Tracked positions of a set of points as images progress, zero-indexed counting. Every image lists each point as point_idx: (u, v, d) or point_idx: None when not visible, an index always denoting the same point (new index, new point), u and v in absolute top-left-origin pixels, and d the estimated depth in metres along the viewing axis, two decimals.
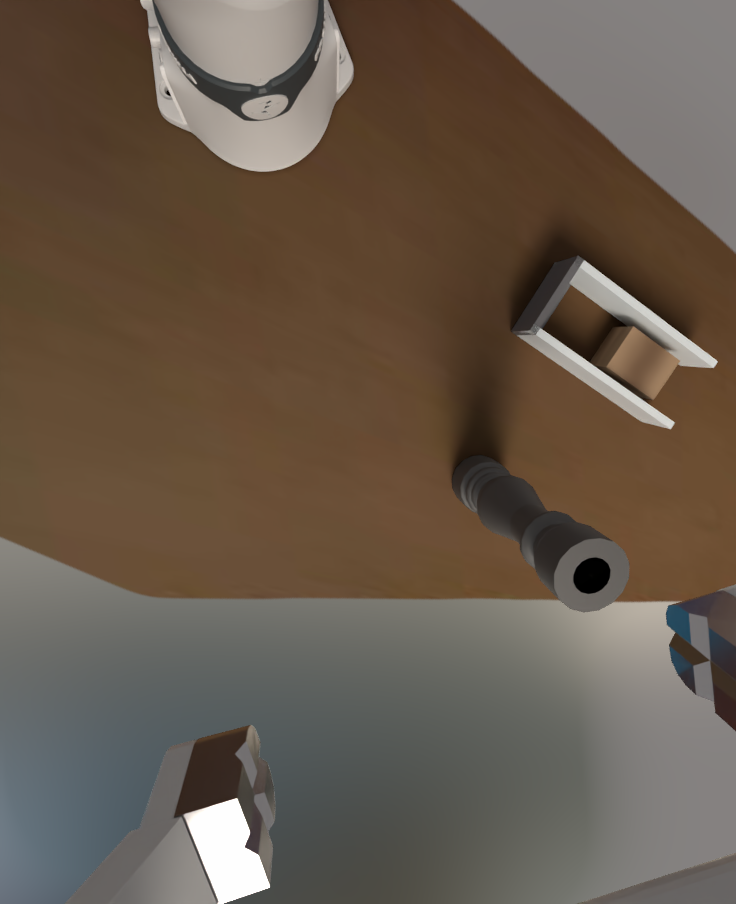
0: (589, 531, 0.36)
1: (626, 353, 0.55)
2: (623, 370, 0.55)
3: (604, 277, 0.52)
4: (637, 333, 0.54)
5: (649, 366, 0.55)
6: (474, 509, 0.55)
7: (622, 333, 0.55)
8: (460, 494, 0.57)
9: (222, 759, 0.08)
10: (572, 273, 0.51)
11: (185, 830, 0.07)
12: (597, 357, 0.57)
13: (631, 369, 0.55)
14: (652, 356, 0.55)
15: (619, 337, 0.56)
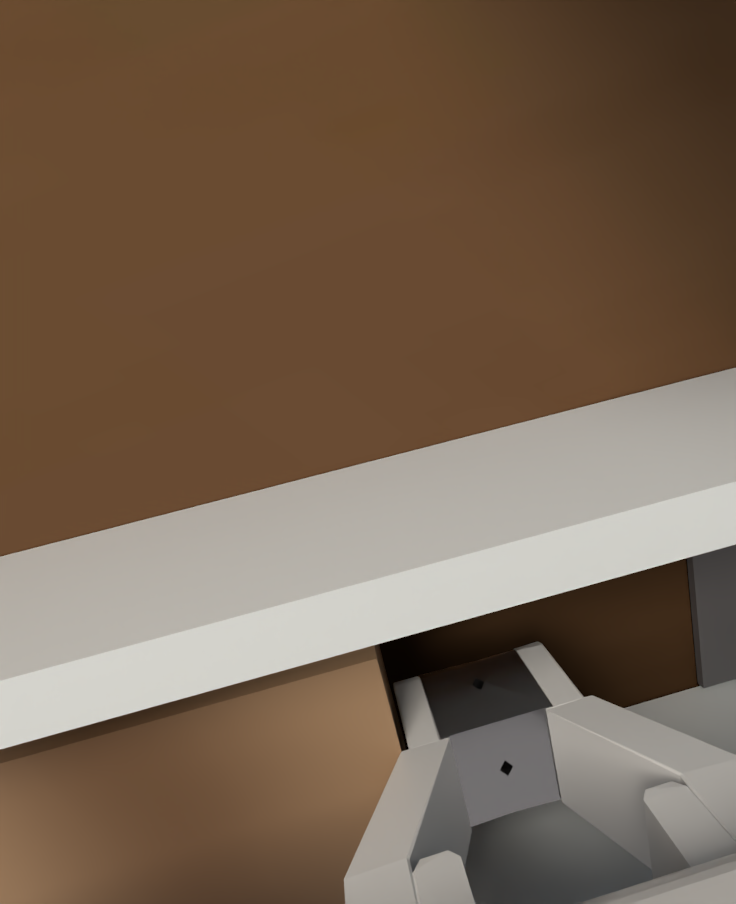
0: None
1: (336, 811, 0.08)
2: (251, 739, 0.07)
3: None
4: None
5: (134, 885, 0.08)
6: None
7: None
8: None
9: (461, 690, 0.08)
10: None
11: (453, 751, 0.08)
12: None
13: (217, 787, 0.07)
14: None
15: None
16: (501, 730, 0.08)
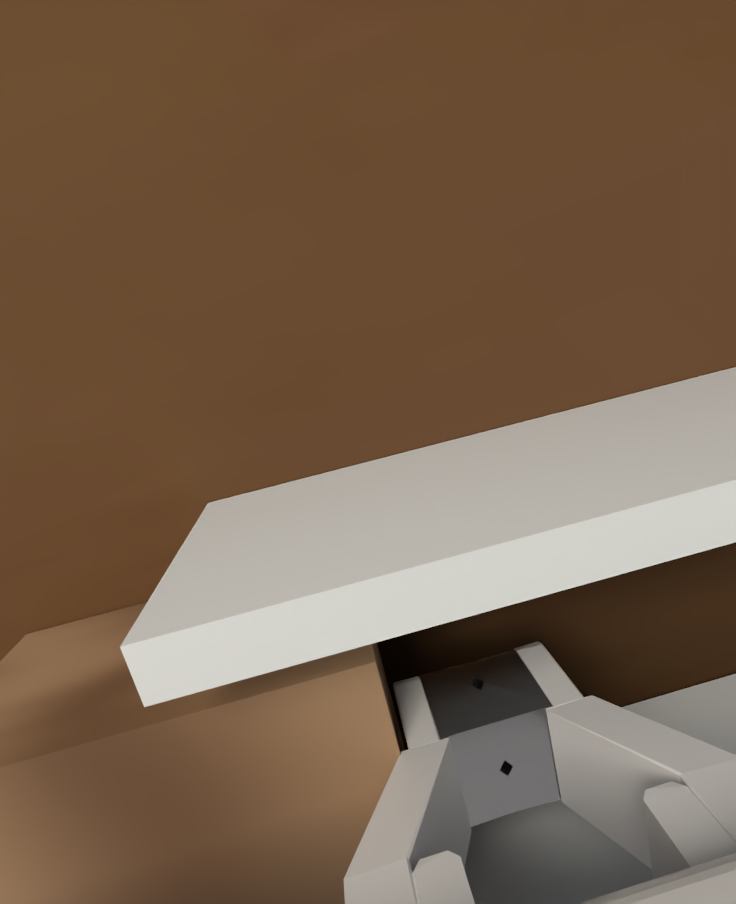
0: None
1: (335, 816, 0.08)
2: (249, 744, 0.07)
3: None
4: None
5: (131, 891, 0.07)
6: None
7: None
8: None
9: (461, 690, 0.08)
10: None
11: (452, 750, 0.08)
12: None
13: (216, 792, 0.07)
14: None
15: None
16: (501, 730, 0.08)
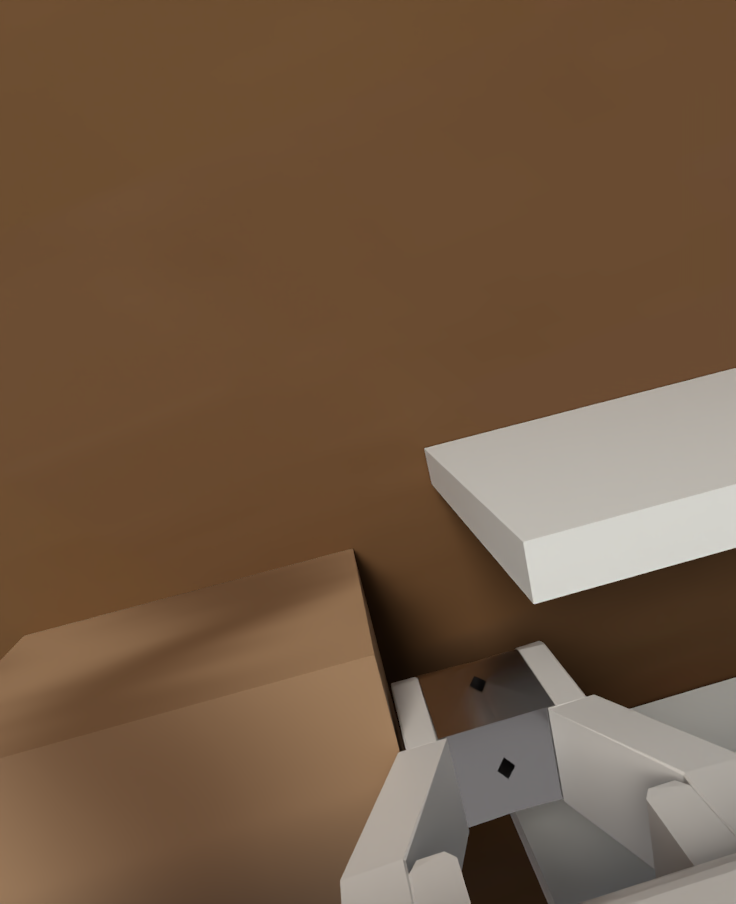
0: None
1: (334, 805, 0.08)
2: (251, 734, 0.07)
3: None
4: None
5: (134, 879, 0.08)
6: None
7: None
8: None
9: (458, 690, 0.08)
10: None
11: (450, 751, 0.08)
12: (368, 613, 0.10)
13: (217, 781, 0.07)
14: None
15: None
16: (503, 730, 0.08)
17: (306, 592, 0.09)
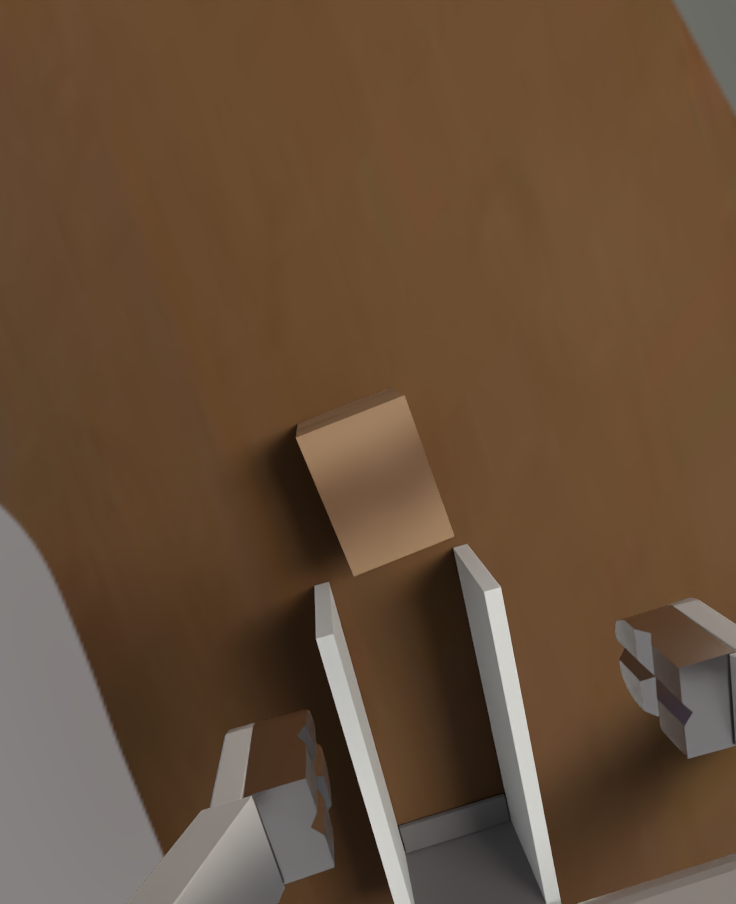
0: None
1: (398, 533, 0.23)
2: (426, 504, 0.23)
3: None
4: (354, 557, 0.23)
5: (369, 473, 0.22)
6: None
7: None
8: None
9: (284, 741, 0.08)
10: None
11: (255, 809, 0.07)
12: None
13: (408, 496, 0.23)
14: (350, 490, 0.22)
15: None
16: (685, 676, 0.08)
17: None
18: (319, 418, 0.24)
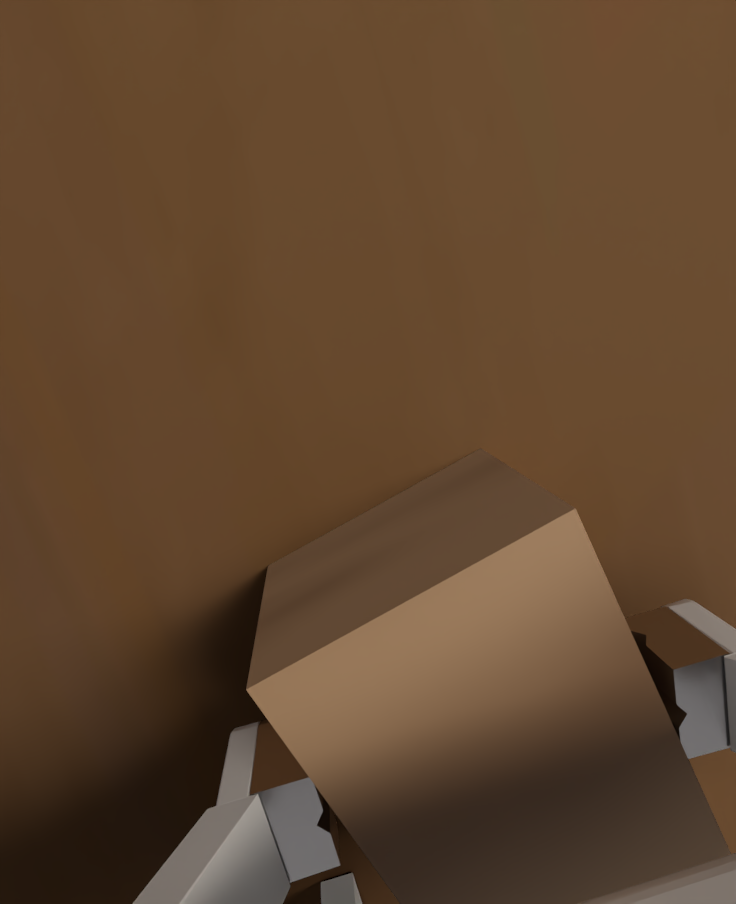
0: None
1: (581, 875, 0.08)
2: (653, 792, 0.08)
3: None
4: None
5: (486, 745, 0.07)
6: None
7: None
8: None
9: None
10: None
11: (261, 807, 0.07)
12: None
13: (602, 781, 0.08)
14: (435, 799, 0.07)
15: None
16: (680, 677, 0.08)
17: None
18: (317, 561, 0.09)
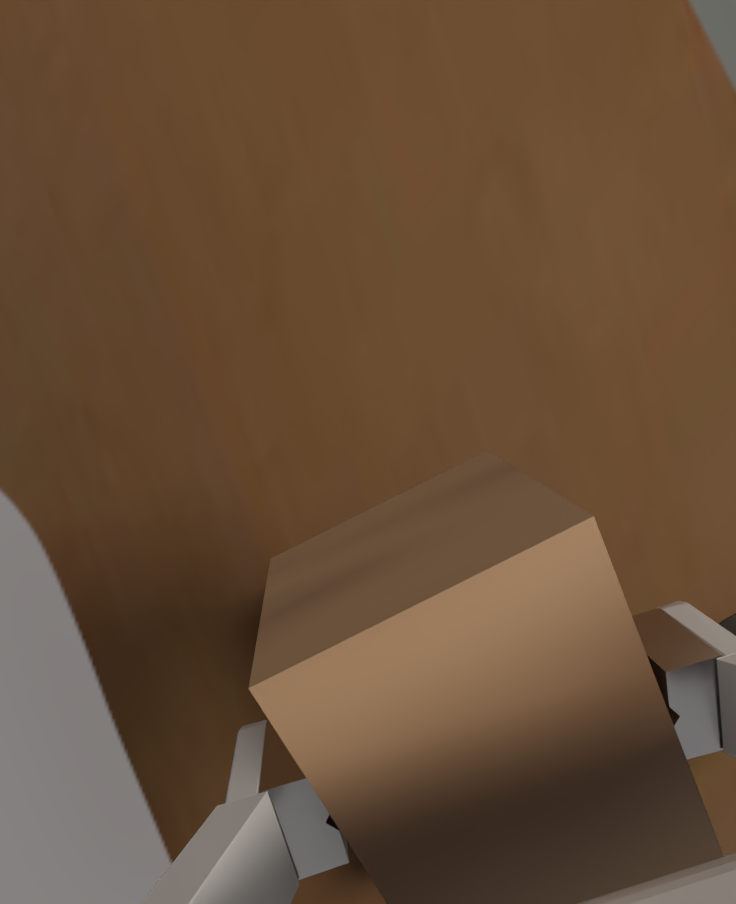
0: None
1: (579, 892, 0.08)
2: (656, 809, 0.08)
3: None
4: None
5: (490, 755, 0.07)
6: None
7: None
8: None
9: None
10: None
11: (271, 804, 0.07)
12: None
13: (606, 796, 0.08)
14: (436, 808, 0.07)
15: None
16: (672, 680, 0.08)
17: None
18: (322, 560, 0.09)
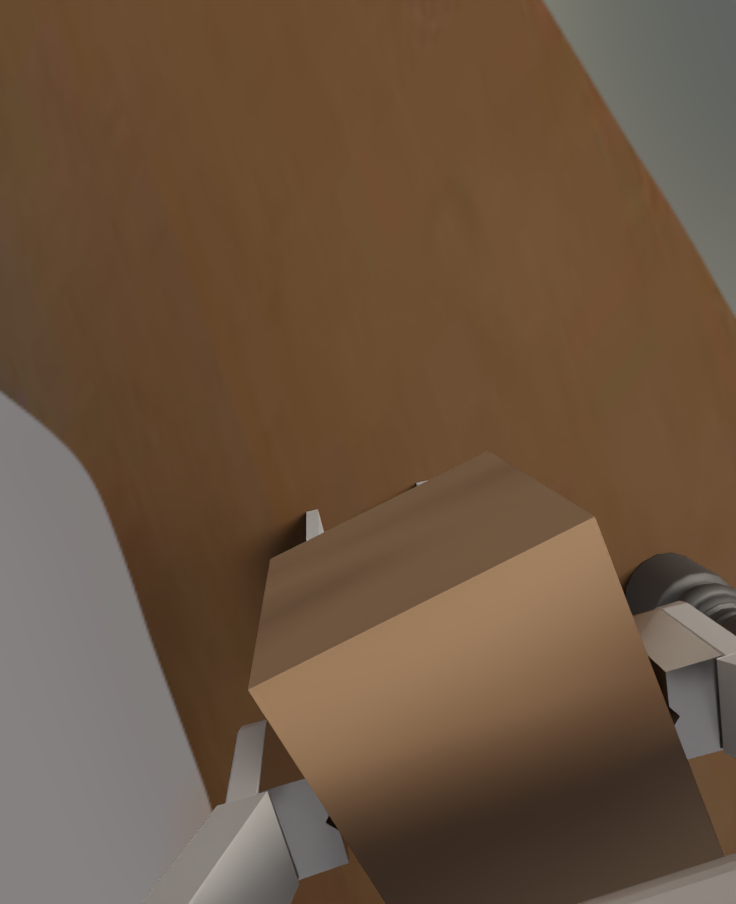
0: None
1: (580, 894, 0.08)
2: (657, 811, 0.08)
3: None
4: None
5: (491, 757, 0.07)
6: None
7: None
8: None
9: None
10: None
11: (271, 804, 0.07)
12: None
13: (607, 797, 0.08)
14: (436, 810, 0.07)
15: None
16: (672, 680, 0.08)
17: None
18: (321, 561, 0.09)
